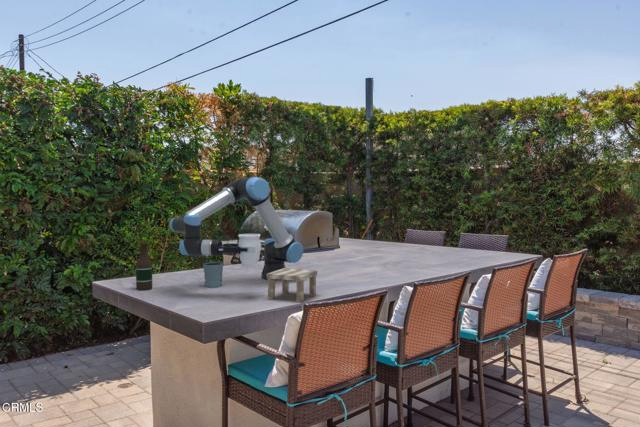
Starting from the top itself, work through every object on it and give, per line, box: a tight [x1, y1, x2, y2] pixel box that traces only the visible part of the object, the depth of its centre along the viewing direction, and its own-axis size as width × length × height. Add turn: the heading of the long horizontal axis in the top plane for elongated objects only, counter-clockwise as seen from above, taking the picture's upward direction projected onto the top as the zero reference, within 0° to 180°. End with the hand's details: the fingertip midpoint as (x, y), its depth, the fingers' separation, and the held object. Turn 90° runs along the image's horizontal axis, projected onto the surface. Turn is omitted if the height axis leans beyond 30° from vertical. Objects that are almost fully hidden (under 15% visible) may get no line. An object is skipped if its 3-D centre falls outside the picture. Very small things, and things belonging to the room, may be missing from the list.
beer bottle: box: [135, 241, 153, 292], centre depth 248 cm, size 8×8×24 cm
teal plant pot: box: [202, 261, 224, 289], centre depth 256 cm, size 10×10×12 cm
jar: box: [237, 232, 262, 268], centre depth 228 cm, size 11×10×15 cm
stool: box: [267, 267, 318, 304], centre depth 230 cm, size 18×18×12 cm
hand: (258, 248), depth 227 cm, fingers closed on jar, 10 cm apart
